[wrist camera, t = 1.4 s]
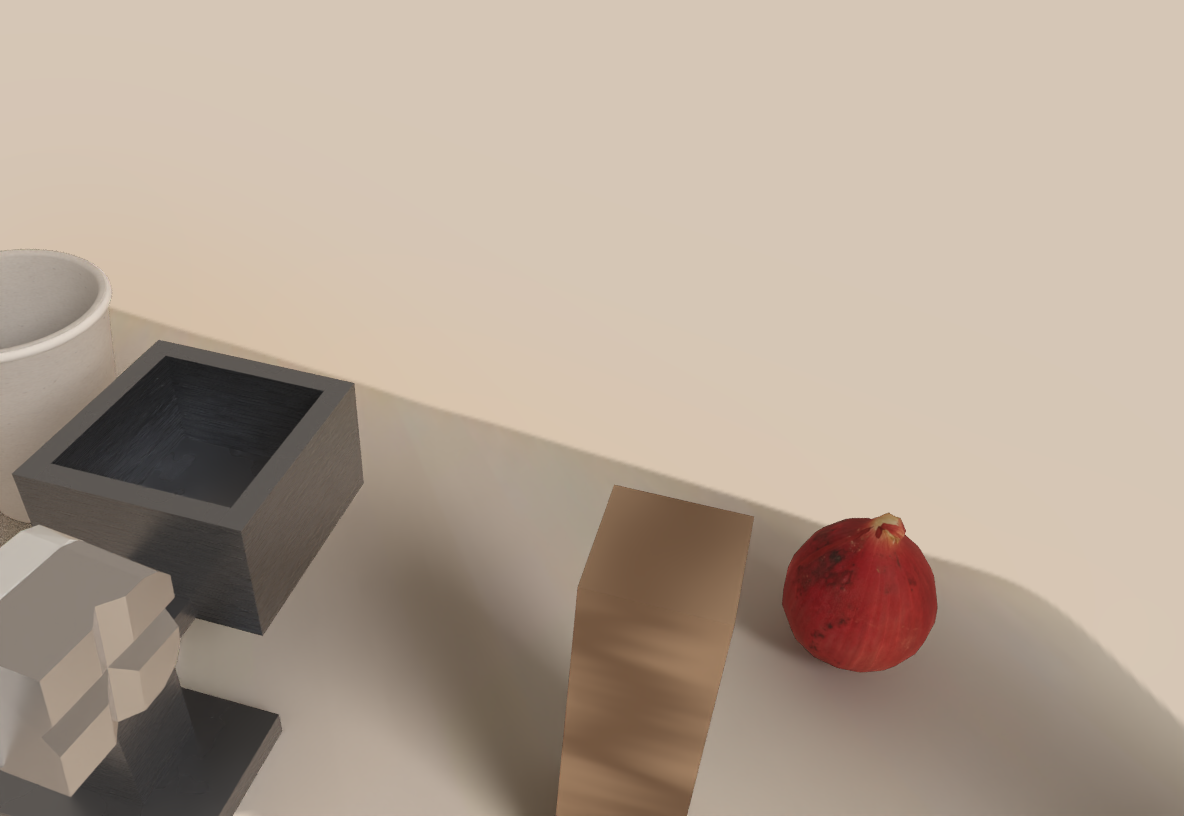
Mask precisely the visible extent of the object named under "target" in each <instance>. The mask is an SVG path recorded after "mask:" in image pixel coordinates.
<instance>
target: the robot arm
mask: <svg viewBox="0 0 1184 816" xmlns="http://www.w3.org/2000/svg"><path fill="white" fill-rule="evenodd" d="M174 598H175V596H174V591H173V586H172V581H171V575H169V574H166V573H164V572H161V571H158V570H156V569H153V568H151V567H148V566H146V565H143V564H140V563H138V562H135V561H133V560H130V559H127V558H125V557H122V556H120V555H117V554H115V553H112V552H109V551H107V550H104V549H102V548H99V547H97V546H94V545H91V544H89V543H86V542H84V541H82V540H80V539H77V538H74V537H71V536H69V535H66V534H63V533H61V532H58V531H55V530H52V529H50V528H47V527H44V526H42V525H37V526H34V527H31V528H28V529H25V530H22V531H20V532H19V533H17V534H16V535H15V536H14V537H12V538H11V539H10V540H9V541H7V542H6V543H5V544H4V545H2V546H1V547H0V770H1V771H4V772H6V773H9V774H12V775H14V776H17V777H20V778H22V779H25V780H27V781H30V782H33V783H35V784H38V785H41V786H43V787H46V788H49V789H51V790H54V791H56V792H59V793H62V794H64V795H67V796H70V797H71V796H72V795H73V794H74V793H75V791H76V790H77V789H78V788H79V787H80V786H81V784H82V783H83V782H84V781H85V780H86V779H87V778H88V776H89V775H90V774H91V773H92V772H93V771H94V769H95V768H96V767H97V766H98V765H99V764H100V763H101V761H102V760H103V759H104V758H105V757H106V756H107V755H108V753H109V752H110V751H111V750H112V749H113V748H114V746H115V745H116V743H117V729H118V722H119V721H122V720H124V719H126V718H129V717H131V716H133V715H136V714H138V713H140V712H143V711H145V710H146V709H147V708H148V707H149V706H150V704H151V703H152V702H153V701H154V699H155V698H156V697H157V696H158V695H159V693H160V692H161V691H162V690H163V689H164V687H165V685H166V683H167V681H168V679H169V677H170V675H171V673H172V671H173V669H174V667H175V665H176V663H177V659H178V653H179V648H180V634H179V626H178V625H177V624H176V622H175V621H174V620H173V618H172V617H171V616H170V614H169V613H168V612H167V610H166V609H165V607H166V606H167V605H168V604H169V603H170V602H171V601H172V600H173V599H174Z"/></svg>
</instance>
